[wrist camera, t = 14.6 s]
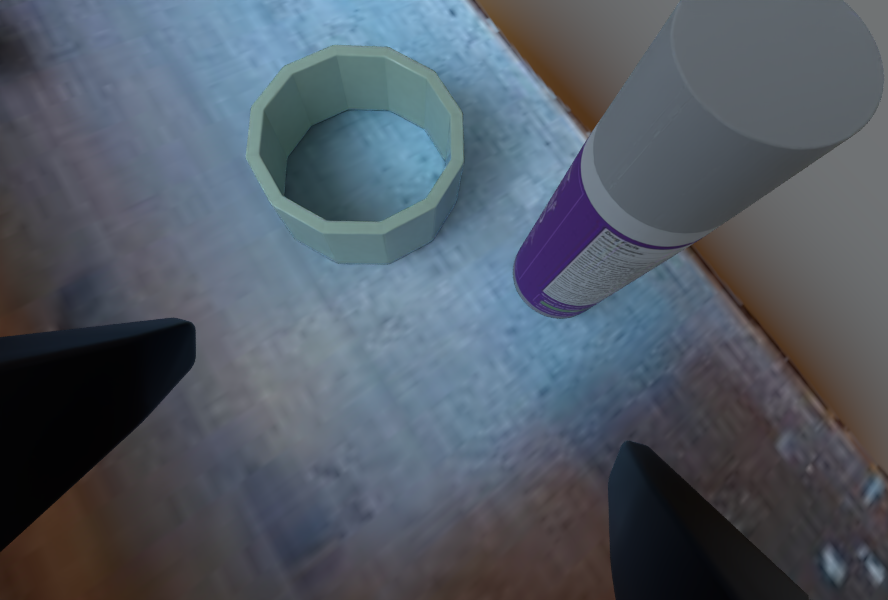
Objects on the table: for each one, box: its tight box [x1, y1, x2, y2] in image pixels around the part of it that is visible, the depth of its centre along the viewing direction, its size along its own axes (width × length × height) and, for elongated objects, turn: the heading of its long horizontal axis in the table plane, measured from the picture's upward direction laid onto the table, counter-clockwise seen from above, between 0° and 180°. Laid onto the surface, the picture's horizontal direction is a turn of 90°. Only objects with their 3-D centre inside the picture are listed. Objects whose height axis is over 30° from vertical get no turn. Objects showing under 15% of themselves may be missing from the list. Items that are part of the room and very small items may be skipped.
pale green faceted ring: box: [246, 45, 464, 264], centre depth 23 cm, size 10×10×4 cm
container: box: [513, 0, 884, 318], centre depth 16 cm, size 5×5×15 cm
